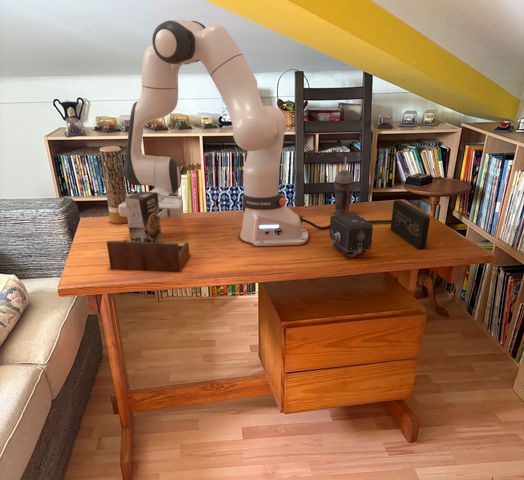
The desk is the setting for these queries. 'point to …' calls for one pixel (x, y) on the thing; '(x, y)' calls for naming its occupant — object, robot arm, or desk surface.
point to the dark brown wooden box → (147, 255)
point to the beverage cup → (343, 190)
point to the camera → (351, 233)
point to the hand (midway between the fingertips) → (144, 216)
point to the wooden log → (114, 181)
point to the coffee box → (143, 217)
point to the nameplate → (410, 223)
